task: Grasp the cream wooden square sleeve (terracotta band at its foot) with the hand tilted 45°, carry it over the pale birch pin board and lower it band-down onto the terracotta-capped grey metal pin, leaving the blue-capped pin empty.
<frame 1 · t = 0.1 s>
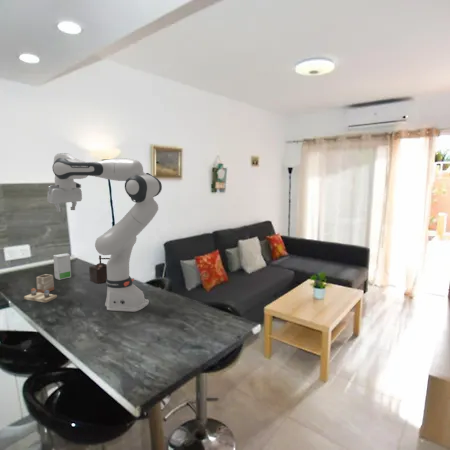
hand: (66, 211, 158), 48 cm above the breakfast bar, tool pointing down, fingers open, 8 cm apart
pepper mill: (105, 279, 194), on the breakfast bar
sleeve: (45, 290, 172), on the breakfast bar
skincare box: (63, 278, 196), on the breakfast bar
pin board: (40, 298, 162), on the breakfast bar
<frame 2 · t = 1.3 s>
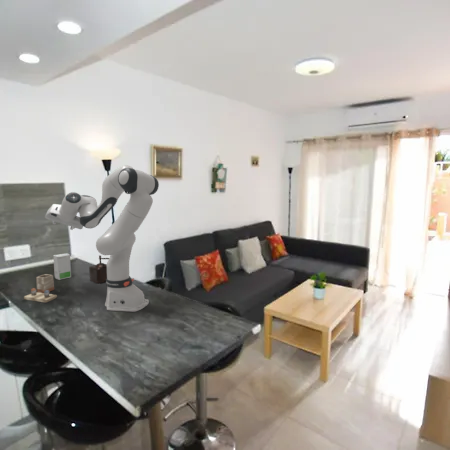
hand: (62, 226, 174), 37 cm above the breakfast bar, tool tilted 50°, fingers open, 8 cm apart
nothing on the breakfast bar moved.
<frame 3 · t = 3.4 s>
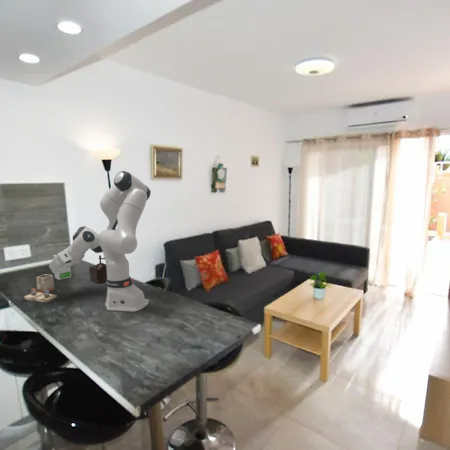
hand: (60, 269, 168), 14 cm above the breakfast bar, tool tilted 45°, fingers open, 8 cm apart
nothing on the breakfast bar moved.
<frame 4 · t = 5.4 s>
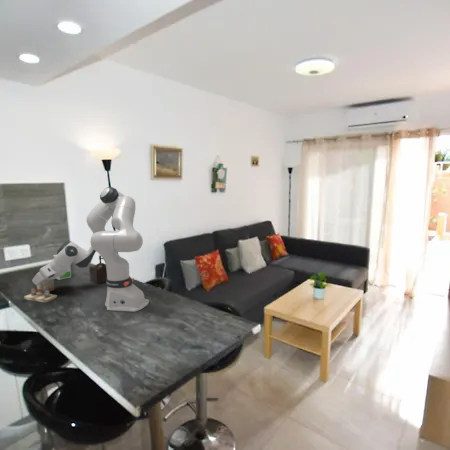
hand: (44, 282, 172), 5 cm above the breakfast bar, tool tilted 45°, fingers closed on sleeve, 6 cm apart
sleeve: (45, 290, 172), on the breakfast bar, touching gripper
everything else where it was.
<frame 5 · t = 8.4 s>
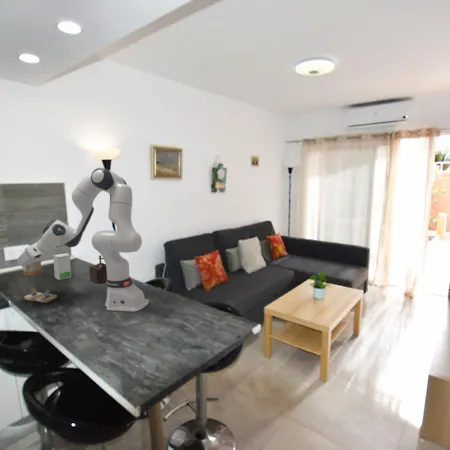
hand: (31, 264, 161), 18 cm above the breakfast bar, tool tilted 45°, fingers closed on sleeve, 6 cm apart
sleeve: (32, 273, 161), point 14 cm above the breakfast bar, touching gripper
everything else where it was.
when the fingers open (7 cm above the breakfast bar, at t = 11.3 s): sleeve drops 1 cm, resting on pin board.
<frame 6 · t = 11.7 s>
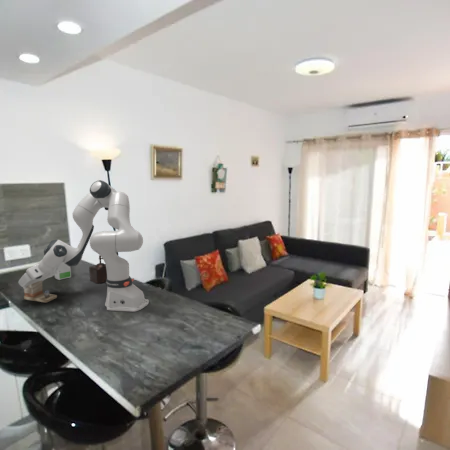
hand: (32, 284, 162), 7 cm above the breakfast bar, tool tilted 45°, fingers open, 8 cm apart
sleeve: (33, 294, 163), point 1 cm above the breakfast bar, touching pin board
everything else where it was.
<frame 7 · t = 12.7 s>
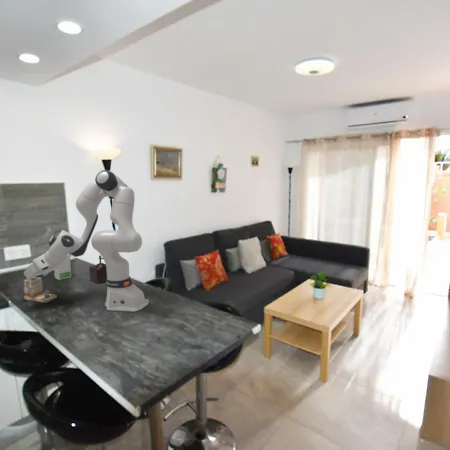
hand: (36, 276, 157), 13 cm above the breakfast bar, tool tilted 45°, fingers open, 8 cm apart
nothing on the breakfast bar moved.
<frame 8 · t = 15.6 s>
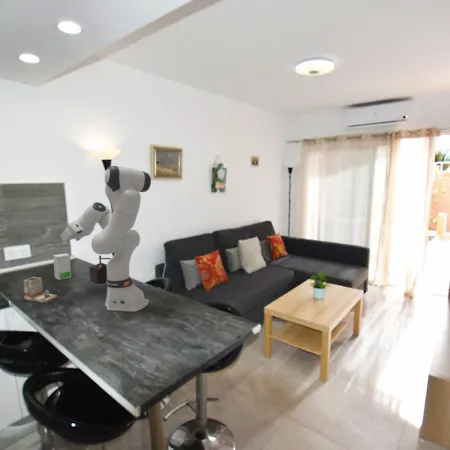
hand: (70, 241, 170), 29 cm above the breakfast bar, tool tilted 45°, fingers open, 8 cm apart
nothing on the breakfast bar moved.
at the end: sleeve 0.1 cm from the target spot on the pin board, point 1.5 cm above the pin board's base; sleeve tilted 0°; the gripper is holding nothing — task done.
